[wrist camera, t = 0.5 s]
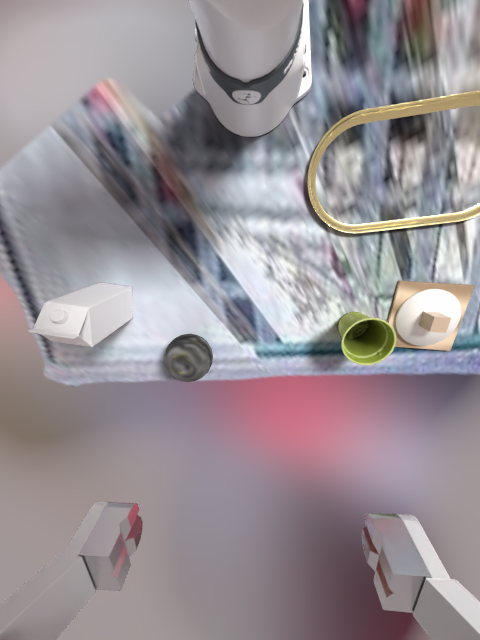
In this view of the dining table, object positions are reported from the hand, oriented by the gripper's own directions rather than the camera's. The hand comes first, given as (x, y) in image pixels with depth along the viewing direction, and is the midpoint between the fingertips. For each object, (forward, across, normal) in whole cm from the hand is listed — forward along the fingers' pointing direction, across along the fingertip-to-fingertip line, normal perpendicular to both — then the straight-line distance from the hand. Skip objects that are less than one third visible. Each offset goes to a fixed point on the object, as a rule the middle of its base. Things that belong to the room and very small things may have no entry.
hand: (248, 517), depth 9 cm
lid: (+45, -34, +9) cm, 57 cm away
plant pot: (+46, -20, +10) cm, 51 cm away
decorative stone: (+46, +14, +15) cm, 50 cm away
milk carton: (+46, +30, +4) cm, 55 cm away
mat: (+45, -34, +9) cm, 58 cm away
